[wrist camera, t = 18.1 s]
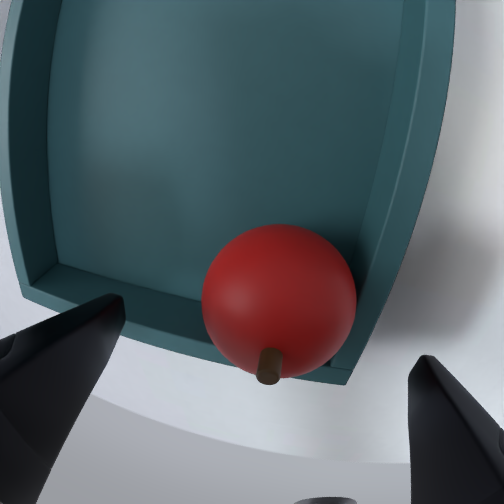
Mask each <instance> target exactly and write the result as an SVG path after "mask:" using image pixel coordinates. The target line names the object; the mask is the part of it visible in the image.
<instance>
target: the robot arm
mask: <svg viewBox="0 0 504 504" xmlns="http://www.w3.org/2000/svg"><path fill="white" fill-rule="evenodd" d="M125 321H126V313H125V305H124V299H123V297H122V296H121V295H119V294H115V293H107V294H105V295H103V296H100V297H98V298H95V299H93V300H91V301H88V302H86V303H84V304H81V305H79V306H77V307H74V308H72V309H70V310H67V311H65V312H63V313H60V314H58V315H56V316H53V317H51V318H49V319H46V320H44V321H42V322H40V323H37V324H35V325H33V326H30V327H28V328H26V329H24V330H21V331H19V332H17V333H16V334H12V335H10V336H8V337H5V338H3V339H1V340H0V504H36V502H37V500H38V497H39V495H40V493H41V491H42V489H43V486H44V484H45V482H46V480H47V478H48V476H49V474H50V471H51V468H52V467H53V465H54V463H55V461H56V459H57V457H58V455H59V452H60V450H61V448H62V446H63V444H64V442H65V440H66V438H67V437H68V435H69V432H70V431H71V429H72V427H73V425H74V423H75V421H76V419H77V417H78V415H79V413H80V412H81V410H82V408H83V406H84V404H85V402H86V400H87V399H88V397H89V395H90V393H91V392H92V390H93V388H94V386H95V384H96V383H97V381H98V379H99V377H100V375H101V374H102V372H103V370H104V368H105V367H106V365H107V363H108V361H109V358H110V356H111V354H112V352H113V349H114V347H115V345H116V342H117V340H118V338H119V336H120V333H121V331H122V329H123V327H124V325H125ZM408 429H409V443H410V462H411V504H504V430H503V429H502V428H500V426H499V425H498V424H497V423H496V421H495V420H494V419H493V418H492V417H491V416H490V415H489V414H488V413H487V411H486V410H485V409H484V408H483V407H482V406H481V405H480V404H479V403H478V402H477V401H476V399H475V398H474V397H473V396H472V395H471V394H470V393H469V392H468V391H467V390H466V389H465V388H464V387H463V386H462V385H461V384H460V382H459V381H458V380H457V379H456V378H455V377H454V376H453V375H452V374H451V373H450V372H449V371H448V370H447V369H446V368H445V367H444V366H443V365H442V364H441V363H440V362H439V361H438V360H437V359H436V358H435V357H434V356H431V355H422V356H421V357H420V358H419V359H418V361H417V362H416V364H415V365H414V367H413V369H412V370H411V372H410V374H409V376H408Z"/></svg>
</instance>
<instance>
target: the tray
mask: <svg viewBox="0 0 504 504" xmlns="http://www.w3.org/2000/svg"><path fill="white" fill-rule="evenodd" d="M455 10H456V0H12V2H11V6H10V10H9V15H8V19H7V24H6V29H5V35H4V41H3V47H2V54H1V62H0V188H1V196H2V204H3V211H4V217H5V223H6V229H7V234H8V239H9V244H10V249H11V253H12V258H13V262H14V266H15V270H16V274H17V278H18V281H19V285H20V288H21V292H22V295H23V297H24V298H26V299H28V300H30V301H33V302H35V303H37V304H39V305H42V306H44V307H47V308H49V309H51V310H54V311H56V312H59V313H63V312H65V311H67V310H70V309H72V308H74V307H77V306H79V305H81V304H84V303H86V302H88V301H91V300H93V299H95V298H98V297H100V296H103V295H105V294H107V293H115V294H119V295H121V296H122V297H123V299H124V305H125V313H126V321H125V325H124V327H123V329H122V331H121V333H120V335H121V336H124V337H127V338H131V339H134V340H137V341H140V342H143V343H146V344H150V345H153V346H156V347H160V348H163V349H167V350H170V351H174V352H177V353H181V354H185V355H189V356H192V357H196V358H200V359H204V360H208V361H212V362H216V363H221V364H225V365H229V366H234V367H237V366H235V365H234V364H233V363H231V362H230V361H229V360H228V359H227V358H226V357H224V356H223V355H222V353H221V352H220V351H219V350H218V349H217V347H216V346H215V345H214V343H213V341H212V340H211V338H210V336H209V334H208V332H207V329H206V326H205V323H204V320H203V315H202V305H201V297H202V290H203V283H204V280H205V277H206V274H207V272H208V269H209V267H210V265H211V263H212V262H213V260H214V259H215V258H216V256H217V255H218V253H219V252H220V251H221V250H222V249H223V248H224V247H225V246H226V245H227V244H228V243H229V242H230V241H232V240H233V239H234V238H236V237H237V236H239V235H240V234H242V233H244V232H246V231H248V230H251V229H253V228H256V227H260V226H264V225H271V224H288V225H295V226H299V227H303V228H306V229H308V230H311V231H313V232H315V233H316V234H318V235H320V236H322V237H323V238H325V239H326V240H327V241H329V242H330V243H331V244H332V245H333V246H334V247H335V248H336V249H337V250H338V251H339V253H340V254H341V255H342V257H343V258H344V259H345V261H346V263H347V265H348V267H349V268H350V271H351V274H352V277H353V280H354V283H355V289H356V312H355V319H354V322H353V325H352V328H351V330H350V333H349V335H348V337H347V339H346V340H345V342H344V343H343V345H342V346H341V348H340V349H339V350H338V352H337V353H336V354H335V355H334V356H333V357H332V358H330V359H329V360H328V361H327V362H326V363H324V364H323V365H322V366H320V367H318V368H317V369H315V370H313V371H311V372H308V373H306V374H303V375H300V376H296V377H290V378H295V379H301V380H308V381H314V382H321V383H328V384H336V385H346V383H347V381H348V379H349V377H350V376H351V374H352V372H353V369H354V368H355V366H356V364H357V362H358V360H359V358H360V356H361V354H362V352H363V350H364V348H365V346H366V344H367V342H368V340H369V338H370V336H371V334H372V332H373V329H374V327H375V325H376V323H377V321H378V318H379V316H380V314H381V312H382V310H383V307H384V305H385V303H386V300H387V298H388V296H389V293H390V291H391V288H392V286H393V283H394V281H395V278H396V276H397V273H398V271H399V268H400V266H401V263H402V260H403V258H404V255H405V252H406V249H407V247H408V244H409V241H410V238H411V235H412V232H413V229H414V226H415V223H416V220H417V217H418V214H419V211H420V208H421V204H422V201H423V198H424V194H425V191H426V187H427V184H428V180H429V176H430V173H431V169H432V165H433V161H434V157H435V153H436V149H437V144H438V140H439V135H440V130H441V126H442V121H443V115H444V110H445V104H446V99H447V92H448V86H449V79H450V71H451V63H452V54H453V44H454V30H455ZM238 368H239V367H238Z"/></svg>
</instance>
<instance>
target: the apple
mask: <svg viewBox="0 0 504 504" xmlns="http://www.w3.org/2000/svg"><path fill="white" fill-rule="evenodd" d="M201 305H202V315H203V320H204V323H205V326H206V329H207V332H208V334H209V336H210V338H211V340H212V341H213V343H214V345H215V346H216V347H217V349H218V350H219V351H220V352H221V353H222V355H223V356H224V357H226V358H227V359H228V360H229V361H230V362H231V363H233V364H234V365H235V366H237V367H239V368H240V369H242V370H244V371H246V372H249V373H251V374H254V375H256V378H257V380H258V381H259V382H260V383H262V384H265V385H273V384H276V383H277V382H278V381H279V380H280V378H290V377H296V376H300V375H303V374H306V373H308V372H311V371H313V370H315V369H317V368H318V367H320V366H322V365H323V364H324V363H326V362H327V361H328V360H329V359H330V358H332V357H333V356H334V355H335V354H336V353H337V352H338V350H339V349H340V348H341V346H342V345H343V343H344V342H345V340H346V339H347V337H348V335H349V333H350V330H351V328H352V325H353V322H354V319H355V312H356V289H355V283H354V280H353V277H352V274H351V271H350V268H349V267H348V265H347V263H346V261H345V259H344V258H343V257H342V255H341V254H340V253H339V251H338V250H337V249H336V248H335V247H334V246H333V245H332V244H331V243H330V242H329V241H327V240H326V239H325V238H323V237H322V236H320V235H318V234H316V233H315V232H313V231H311V230H308V229H306V228H303V227H299V226H295V225H288V224H271V225H264V226H260V227H256V228H253V229H251V230H248V231H246V232H244V233H242V234H240V235H239V236H237V237H236V238H234V239H233V240H232V241H230V242H229V243H228V244H227V245H226V246H225V247H224V248H223V249H222V250H221V251H220V252H219V253H218V255H217V256H216V258H215V259H214V260H213V262H212V263H211V265H210V267H209V269H208V272H207V274H206V277H205V280H204V283H203V290H202V297H201Z"/></svg>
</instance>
